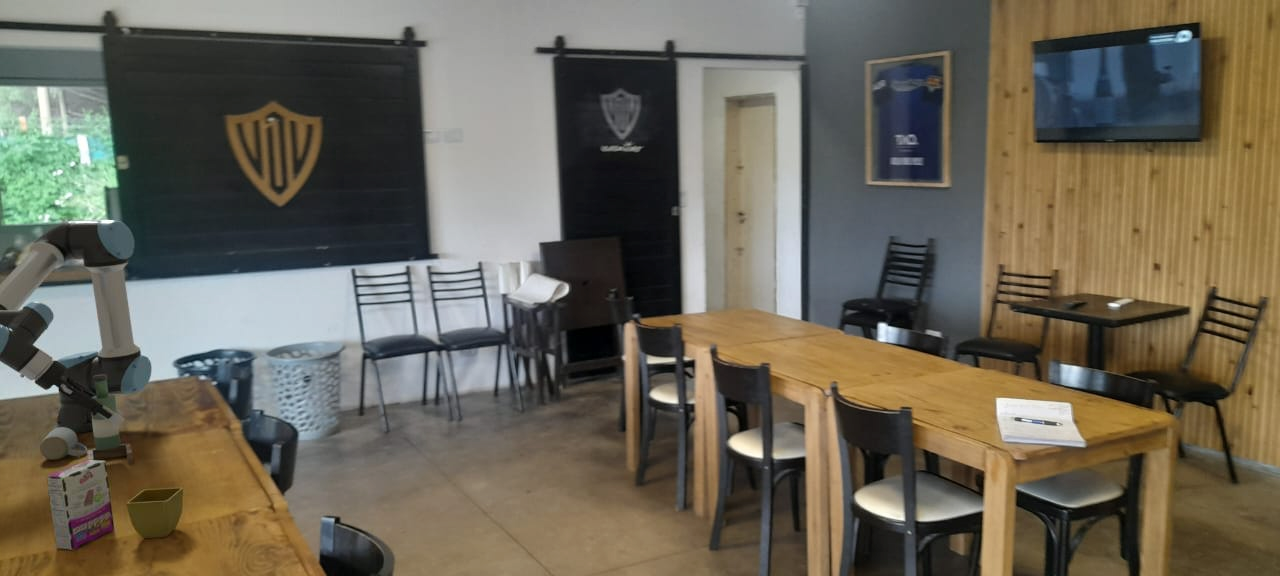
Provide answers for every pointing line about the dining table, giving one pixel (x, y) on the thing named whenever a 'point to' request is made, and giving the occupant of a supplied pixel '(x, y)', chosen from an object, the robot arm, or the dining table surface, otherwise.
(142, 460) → the dining table surface
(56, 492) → the candy bar box
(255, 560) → the dining table surface
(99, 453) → the u rest
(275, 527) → the dining table surface
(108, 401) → the bottle
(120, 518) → the dining table surface
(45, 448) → the ceramic mug
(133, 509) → the flower pot
